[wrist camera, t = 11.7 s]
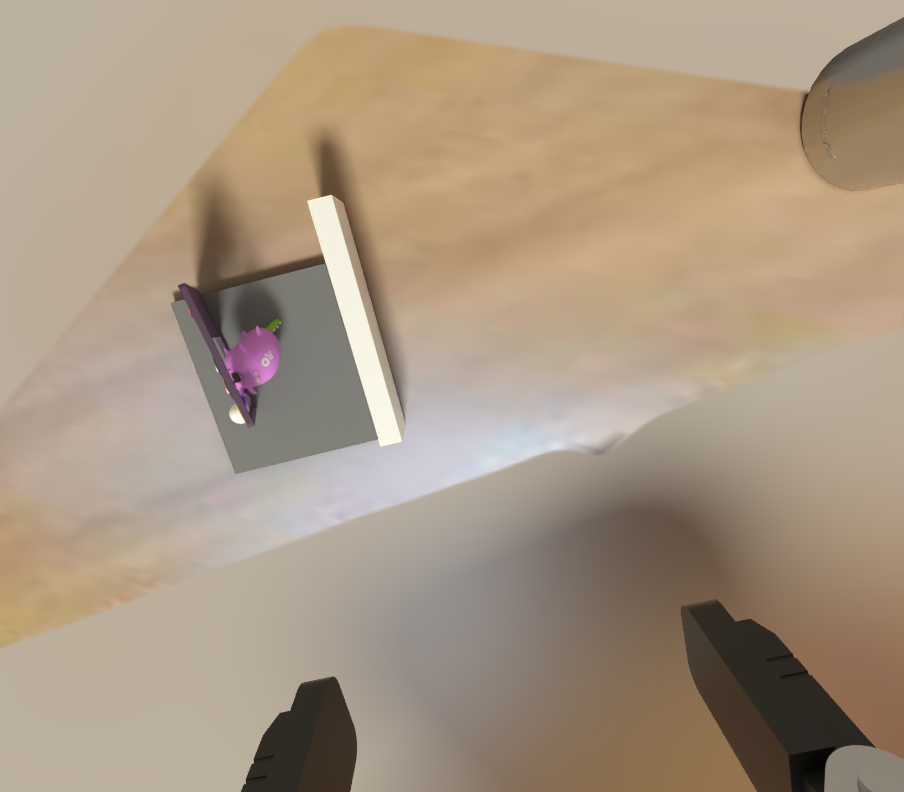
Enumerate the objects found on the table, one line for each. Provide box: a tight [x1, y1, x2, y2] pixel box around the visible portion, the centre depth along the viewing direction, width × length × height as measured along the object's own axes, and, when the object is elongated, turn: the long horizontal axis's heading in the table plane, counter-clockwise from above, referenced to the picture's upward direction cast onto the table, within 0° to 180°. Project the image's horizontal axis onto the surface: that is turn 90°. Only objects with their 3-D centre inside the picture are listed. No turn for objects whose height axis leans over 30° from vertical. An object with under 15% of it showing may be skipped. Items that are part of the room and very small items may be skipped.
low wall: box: [307, 195, 406, 446], centre depth 34 cm, size 2×16×4 cm, turn 14°
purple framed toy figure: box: [178, 283, 281, 428], centre depth 33 cm, size 7×5×9 cm
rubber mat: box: [171, 263, 378, 474], centre depth 37 cm, size 11×13×1 cm
